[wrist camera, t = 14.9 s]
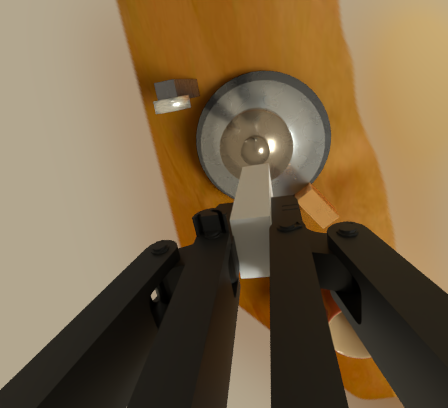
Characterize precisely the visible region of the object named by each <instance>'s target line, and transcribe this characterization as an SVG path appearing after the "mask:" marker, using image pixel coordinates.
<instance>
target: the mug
mask: <svg viewBox="0 0 448 408" xmlns="http://www.w3.org/2000/svg"><path fill="white" fill-rule="evenodd" d="M320 289H321V288H320ZM321 294H322V298H323V302H324V306H325V310H326V315H327V319H328V323H329V327H330V331H331V336H332V340H333V344H334V348H335V351H336V352H337V353H339V354H341V355H344V356H347V357H351V358H359V359H364V358H372V357H371V355H370V354H369V352H368V351H367V349H366V348H365V346H364V345H363V343H362V342H361V340H360V339H359V337H358V336H357V334H356V333H355V331H354V330H353V328H352V326H351V325H350V323H349V322H348V320H347V319H346V317H345V316H344V314H343V313H342V311H341V310H340V308H339V307H338V305H337V304H336V302H335V301H334V299H333V298H332V296H331V293H330V290H327V289H321Z"/></svg>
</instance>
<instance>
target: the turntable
mask: <svg viewBox="0 0 448 408" xmlns="http://www.w3.org/2000/svg"><path fill="white" fill-rule="evenodd" d="M256 107H260V108H267V109H270V110H272V111H274V112H276V113H277V114H279V115H280V116H281V117H282V118H283V120H284V121H285V122H286V124H287V126H288V128H289V131H290V133H291V136H292V139H293V154H292V158H291V160H290V163H289V165H288V166H287V168H286V169H285V170H284V172H283V173H282V174H280V175H279V176H278V177H276V178H275V179H273V180H271V185H272V193H273V197H278V196H287V195H294V194H295V198H297V200H298V204H299V205H300V206H301V207H302V208H303V209H304V210H305V211H306V212H307V213H308V214H309V215H310V216H311V217H312V218H313V219H314V220H315V221H316V222H317V223H318V224H319V225H320V226H321V227H322V228H323V229H324V228H325V227H327V226H328V225H329V224H331V223H332V222H333V221H335V220H336V219H337V218H339V216H338V214H337V212H336V210H335V208H334V207H333V206H332V204H331V203H330V202H329V201H328V200H327V199H326V198H325V197H324V196H323V195H322V194H321V193H320V192H319V191H318V190H317V189H316V188H315V187H314V186H313V185H312V184H311V183H310V182H309V181H310V180H311V179H312V178H313V176H314V175H315V173H316V172H317V170H318V168H319V166H320V164H321V161H322V158H323V154H324V149H325V133H324V127H323V123H322V120H321V118H320V115H319V113H318V111H317V110H316V108H315V106H314V105H313V104H312V102H311V101H310V100H309V99H308V98H307V97H306V96H305V95H304V94H303V93H301V92H300V91H298V90H297V89H295V88H293V87H291V86H289V85H287V84H284V83H281V82H277V81H270V80H259V81H252V82H248V83H244V84H242V85H239V86H237V87H235V88H233V89H232V90H230V91H228V92H227V93H226V94H224V95H223V96H222V97H221V98H220V99H219V100H218V101H217V102H216V103H215V105H214V106H213V107H212V109H211V110H210V112H209V114H208V115H207V118H206V120H205V122H204V126H203V129H202V135H201V151H202V157H203V161H204V164H205V166H206V169H207V170H208V172H209V174H210V176H211V177H212V179H213V180H214V181H215V182H216V184H217V185H218V186H219V187H220V188H222V189H223V190H224V191H225V192H227V193H228V194H230V195H231V196H233V197H235V196H236V192H237V188H238V184H239V179H237V178H236V177H234V176H233V175H232V174H231V173H230V172H229V171H228V170H227V169H226V167H225V166H224V164H223V162H222V159H221V155H220V140H221V136H222V134H223V131H224V130H225V128H226V126H227V125H228V124H229V123H230V122H231V120H232V119H233V118H234V117H235V116H236V115H238V114H239V113H240V112H242V111H244V110H247V109H250V108H256Z"/></svg>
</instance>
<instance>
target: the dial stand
mask: <svg viewBox="0 0 448 408" xmlns="http://www.w3.org/2000/svg"><path fill="white" fill-rule="evenodd" d="M154 86H155V90H156V94H157V98H158V101H154V102H153V103H154V107H155V111H156V114H161V113H167V112H172V111H177V110H182V109H186V108H190V107H191V105H190V100H189V99H190V98H194V97H198V96H200V94H199V89H198V84H197V79H172V80H168V81H163V82H158V83H154Z"/></svg>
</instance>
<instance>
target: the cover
mask: <svg viewBox="0 0 448 408" xmlns="http://www.w3.org/2000/svg"><path fill="white" fill-rule="evenodd" d="M292 154H293V139H292V136H291V133H290V131H289V128H288V126H287V124H286V122H285V121H284V120H283V118H282V117H281V116H280V115H279V114H277V113H276V112H274V111H272V110H270V109H267V108H260V107H256V108H250V109H247V110H244V111H242V112H240V113H239V114H238V115H236V116H235V117H234V118H233V119H232V120H231V122H230V123H229V124H228V125H227V126H226V128H225V130H224V131H223V134H222V136H221V140H220V155H221V159H222V162H223V164H224V166H225V167H226V169H227V170H228V171H229V172H230V173H231V174H232V175H233V176H234V177H236V178H237V179H240V175H241V171H242V167H245V166H252V165H259V164H266V163H269V170H270V177H271V180H273V179H275V178H276V177H278V176H279V175H280V174H282V173H283V172H284V170H285V169H286V168H287V166H288V165H289V163H290V160H291V158H292Z"/></svg>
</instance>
